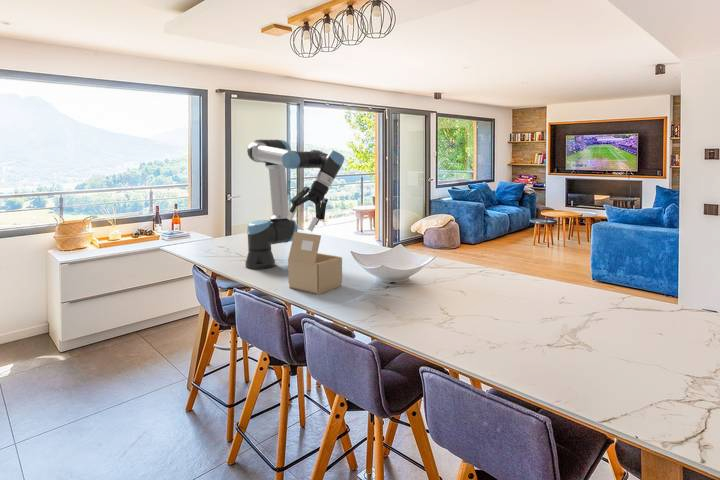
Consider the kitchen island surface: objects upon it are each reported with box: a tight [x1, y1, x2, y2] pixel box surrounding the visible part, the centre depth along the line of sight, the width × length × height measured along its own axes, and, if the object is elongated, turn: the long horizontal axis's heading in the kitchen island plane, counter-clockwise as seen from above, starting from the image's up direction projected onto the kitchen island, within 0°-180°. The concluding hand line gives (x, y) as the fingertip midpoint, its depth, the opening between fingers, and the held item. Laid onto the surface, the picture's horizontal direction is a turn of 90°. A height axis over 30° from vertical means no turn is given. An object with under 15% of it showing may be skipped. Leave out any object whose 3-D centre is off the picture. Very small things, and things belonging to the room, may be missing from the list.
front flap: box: [287, 231, 322, 264], centre depth 198 cm, size 15×1×12 cm, turn 54°
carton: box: [287, 252, 343, 295], centre depth 206 cm, size 18×17×13 cm
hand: (299, 225), depth 212 cm, fingers open, 13 cm apart
